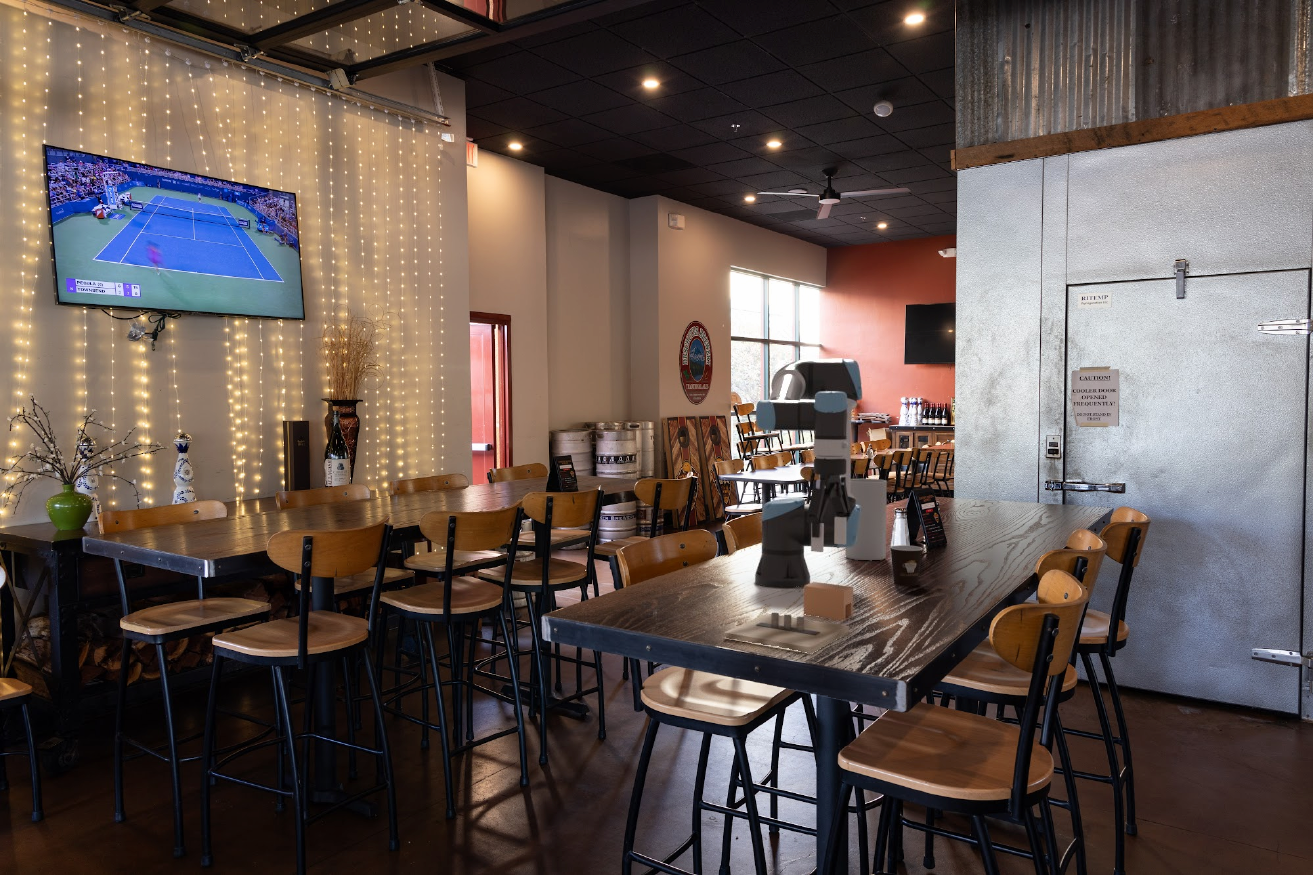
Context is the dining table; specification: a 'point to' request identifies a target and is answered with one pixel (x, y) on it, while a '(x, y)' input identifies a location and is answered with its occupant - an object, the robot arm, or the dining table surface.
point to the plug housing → (828, 600)
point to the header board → (788, 632)
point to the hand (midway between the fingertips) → (829, 547)
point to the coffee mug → (907, 564)
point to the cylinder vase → (869, 519)
